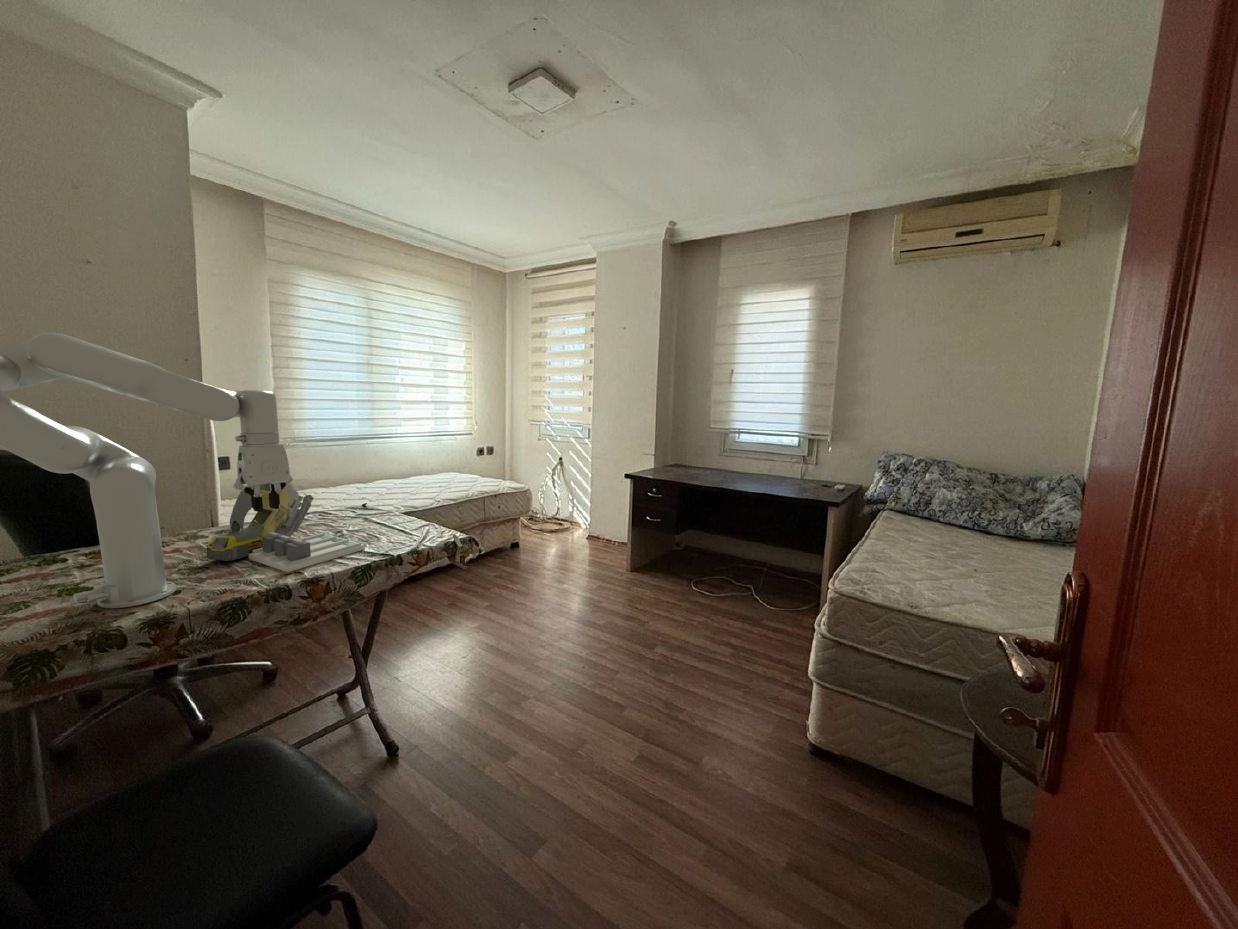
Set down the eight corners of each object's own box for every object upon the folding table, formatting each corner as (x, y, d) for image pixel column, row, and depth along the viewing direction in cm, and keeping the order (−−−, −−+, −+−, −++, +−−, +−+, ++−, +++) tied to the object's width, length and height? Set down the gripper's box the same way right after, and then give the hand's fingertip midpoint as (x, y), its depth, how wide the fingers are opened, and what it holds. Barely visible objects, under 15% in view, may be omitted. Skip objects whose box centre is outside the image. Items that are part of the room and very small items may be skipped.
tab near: (295, 562, 127) (294, 543, 126) (287, 559, 129) (285, 541, 128) (310, 558, 130) (309, 539, 129) (302, 555, 132) (301, 537, 131)
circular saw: (322, 503, 160) (275, 461, 140) (276, 587, 143) (215, 552, 123) (294, 502, 161) (243, 459, 141) (246, 584, 144) (180, 549, 124)
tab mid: (283, 558, 129) (281, 539, 129) (274, 555, 131) (273, 537, 130) (298, 554, 133) (297, 536, 132) (290, 551, 135) (288, 533, 134)
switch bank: (287, 572, 124) (286, 564, 123) (248, 558, 132) (248, 551, 132) (364, 549, 143) (364, 542, 143) (326, 538, 152) (326, 531, 151)
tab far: (270, 554, 132) (269, 536, 131) (263, 551, 134) (261, 533, 133) (286, 550, 136) (284, 532, 135) (278, 547, 137) (277, 530, 137)
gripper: (230, 443, 109) (237, 519, 112) (303, 438, 124) (308, 505, 126) (213, 440, 112) (221, 514, 115) (287, 436, 127) (291, 501, 130)
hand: (266, 509), depth 121 cm, fingers open, 3 cm apart
